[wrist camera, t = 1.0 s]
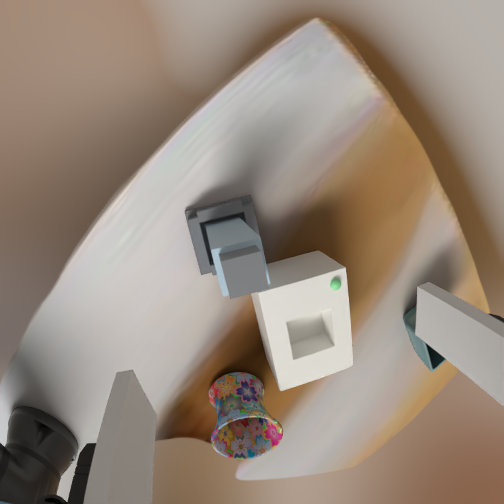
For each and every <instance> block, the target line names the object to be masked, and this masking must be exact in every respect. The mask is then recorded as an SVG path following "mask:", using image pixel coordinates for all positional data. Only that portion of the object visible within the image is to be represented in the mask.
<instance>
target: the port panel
mask: <svg viewBox="0 0 504 504" xmlns="http://www.w3.org/2000/svg"><path fill="white" fill-rule="evenodd" d="M266 265H267V270H268V275H269V280H270V284H268V286H269V289H266V290H262V291H259V292H255V293H251V296H252V300H253V304H254V309H255V313H256V317H257V321H258V325H259V330H260V334H261V338H262V342H263V346H264V350H265V355H266V358H267V361H268V363H269V365H270V368H271V370H272V373H273V375H274V377H275V380H276V382H277V384H278V387H279V389H280V391H283V390H286V389H289V388H292V387H295V386H298V385H301V384H304V383H307V382H310V381H313V380H316V379H319V378H322V377H324V376H327V375H330V374H333V373H335V372H338V371H341V370H343V369H346V368H348V367H351V366H353V358H352V338H351V322H350V309H349V297H348V286H347V276H346V267H344V266H342V265H341V264H339V263H338V262H336V261H335V260H333V259H331V258H330V257H328V256H327V255H325V254H324V253H322V252H320V251H319V250H317V251H313V252H310V253H306V254H302V255H299V256H295V257H291V258H287V259H284V260H280V261H276V262H273V263H269V264H266Z"/></svg>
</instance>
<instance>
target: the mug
mask: <svg viewBox="0 0 504 504" xmlns="http://www.w3.org/2000/svg"><path fill="white" fill-rule="evenodd" d="M263 396H264V386H263V384H262V382H261V381H260V380H259V379H258V378H257V377H256V376H254V375H252V374H249V373H244V372H234V373H229V374H226V375H224V376H222V377H220V378H218V379H217V380H216V381H215V382H214V383H213V384H212V386H211V387H210V390H209V400H210V402H211V404H212V405H213V406H214V407H215V408H216V411H217V424H216V427H215V429H214V431H213V433H212V436H211V444H212V446H213V448H214V449H215V450H216V451H217V452H218V453H220V454H221V455H223V456H225V457H229V458H233V459H249V458H254V457H258V456H261V455H263V454H265V453H267V452H269V451H271V450H272V449H273V448H275V447H276V446H277V445H278V444H279V442H280V441H281V439H282V436H283V429H282V426H281V424H280V423H279V422H278V421H277V420H276V419H274V418H273V417H272V416H271V415H270V414H269V413H268V412H267V411H266V409H265V407H264V405H263Z"/></svg>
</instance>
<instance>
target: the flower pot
mask: <svg viewBox="0 0 504 504" xmlns="http://www.w3.org/2000/svg"><path fill="white" fill-rule="evenodd" d="M416 312H417V305H416V306H415V307H414V308H412V309H411V310H410V311H409V312H408V313H406V314H405V315H404V317H403V319H404V323H405V326H406V328H407V331H408V334H409V337H410V340H411V343H412V345H413V348H414V350H415V352H416V353H417V355H418V356H419V357H420V359H421V360H422V361H423V362H424V364H425V365H426V366H427V367H428V368H429V369H430V371H431V372H433V371H434V370H436V369H437V368H438V367H439V366H440V365H441V364H442V363H443V362H444V361H445V360H447V359H445V358H444V357H443V356H442V355H440V354H439V353H438V352H437V351H435V350H434V349H433V348H432V347H430V346H429V345H428V344H427V343H425V342H424V341H423V340H421V339H420V338H419V337H418V336H416V335H415V329H416Z"/></svg>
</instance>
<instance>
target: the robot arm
mask: <svg viewBox="0 0 504 504" xmlns="http://www.w3.org/2000/svg"><path fill="white" fill-rule="evenodd" d="M415 335H416V336H418V337H419V338H420V339H421V340H423V341H424V342H425V343H427V344H428V345H429V346H430V347H432V348H433V349H434V350H435V351H437V352H438V353H439V354H440V355H442V356H443V357H444V358H445V359H447V360H448V361H449V362H450V363H452V364H453V365H454V366H455V367H457V368H458V369H459V370H460V371H462V372H463V373H464V374H465V375H466V376H468V377H469V378H470V379H471V380H473V381H474V382H475V383H476V384H477V385H479V386H480V387H481V388H482V389H483V390H485V391H486V392H487V393H488V394H489V395H491V396H492V397H493V398H494V399H495V400H497V401H498V402H499V403H500V404H501V405H503V406H504V318H502V317H500V316H497V315H493V314H487V313H485V312H484V311H482V310H480V309H478V308H476V307H475V306H473V305H471V304H469V303H467V302H466V301H464V300H462V299H460V298H458V297H456V296H455V295H453V294H451V293H449V292H447V291H445V290H443V289H441V288H440V287H438V286H436V285H434V284H432V283H430V282H427V283H424V284H422V285H420V286H417V312H416V329H415ZM156 419H157V414H156V413H155V411H154V409H153V407H152V406H151V404H150V402H149V400H148V398H147V396H146V395H145V393H144V391H143V389H142V387H141V385H140V383H139V381H138V379H137V377H136V375H135V373H134V371H133V370H129V371H123V372H117V373H116V377H115V380H114V383H113V386H112V389H111V393H110V396H109V399H108V403H107V406H106V410H105V413H104V417H103V421H102V424H101V428H100V432H99V436H98V439H97V443H89V444H86V446H85V447H84V448H83V450H82V451H81V452H80V454H79V458H78V462H77V467H76V469H75V475H74V477H73V481H72V485H71V489H70V493H69V498H68V502H66V501H65V500H64V499H63V498H61V497H60V496H58V495H56V494H57V490H58V486H59V482H60V479H61V476H62V475H63V473H64V472H65V471H66V470H67V469H68V467H69V466H70V465H71V464H72V463H73V462H74V461H75V459H76V456H77V452H78V444H77V442H76V440H75V438H74V436H73V435H72V434H71V433H70V431H69V430H68V429H67V428H66V427H65V426H64V425H62V424H61V423H60V422H59V421H57V420H56V419H54V418H53V417H51V416H50V415H48V414H46V413H44V412H42V411H40V410H37V409H34V408H31V407H18V408H16V409H15V410H14V411H13V412H12V414H11V416H10V418H9V422H8V426H9V427H8V434H7V443H6V446H5V447H4V446H3V445H2V444H1V443H0V504H152V483H153V461H154V445H155V432H156Z"/></svg>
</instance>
